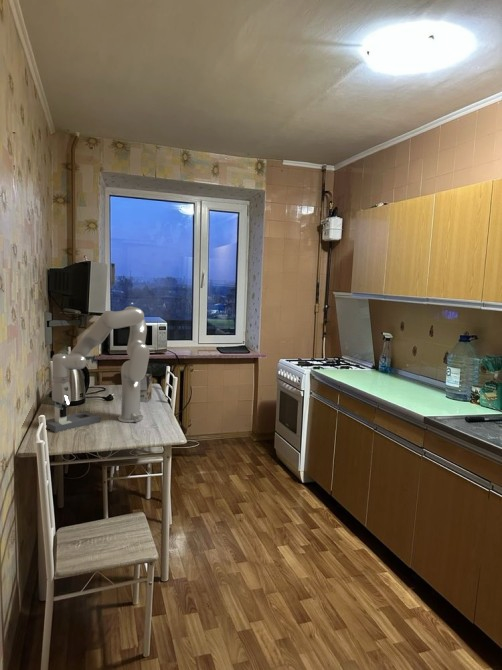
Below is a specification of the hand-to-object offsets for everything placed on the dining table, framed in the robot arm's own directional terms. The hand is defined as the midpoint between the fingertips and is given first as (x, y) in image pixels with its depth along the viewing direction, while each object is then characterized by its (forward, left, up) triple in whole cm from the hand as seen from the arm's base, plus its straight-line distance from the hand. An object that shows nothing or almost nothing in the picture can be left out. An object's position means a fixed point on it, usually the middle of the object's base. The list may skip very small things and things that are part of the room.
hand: (60, 415), depth 218 cm
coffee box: (+12, -62, -6) cm, 63 cm away
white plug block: (0, 0, -4) cm, 4 cm away
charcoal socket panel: (0, -6, -6) cm, 8 cm away
